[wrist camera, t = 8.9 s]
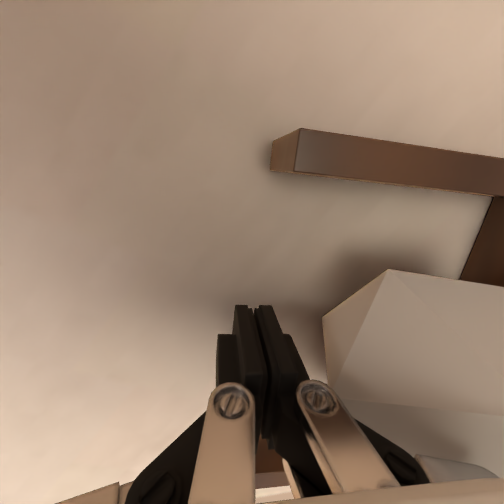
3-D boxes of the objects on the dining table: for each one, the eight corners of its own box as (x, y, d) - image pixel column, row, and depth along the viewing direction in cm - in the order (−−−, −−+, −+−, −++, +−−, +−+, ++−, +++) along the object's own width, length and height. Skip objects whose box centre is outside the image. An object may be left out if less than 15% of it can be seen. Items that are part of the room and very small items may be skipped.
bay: (237, 421, 15) (243, 490, 12) (272, 140, 10) (299, 127, 7) (418, 410, 17) (465, 466, 14) (523, 174, 12) (633, 177, 9)
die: (313, 388, 16) (529, 550, 10) (240, 389, 9) (782, 914, 3) (366, 277, 17) (587, 355, 11) (334, 209, 11) (853, 306, 4)
